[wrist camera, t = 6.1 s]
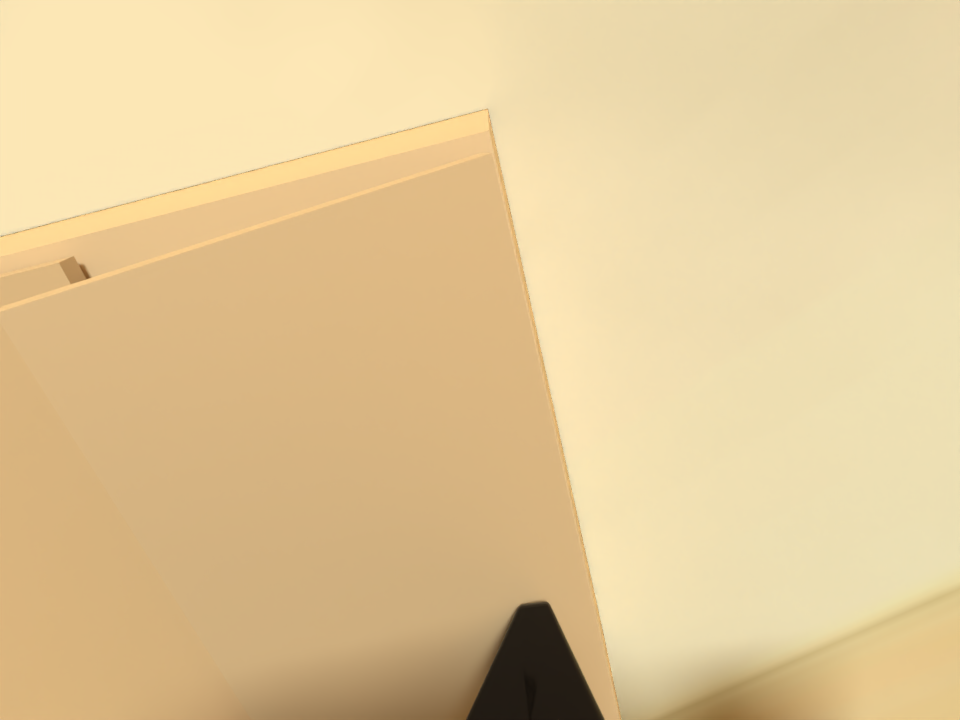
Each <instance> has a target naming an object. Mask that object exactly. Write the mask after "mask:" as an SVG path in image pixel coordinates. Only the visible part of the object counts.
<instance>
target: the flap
mask: <svg viewBox="0 0 960 720" xmlns="http://www.w3.org/2000/svg"><path fill="white" fill-rule="evenodd" d="M0 324H1V325H2V327H3V328H4V330H5V332H6V333H7V335H8V336H9V338H10V340H11V341H12V343H13V344H14V346H15V347H16V349H17V351H18V352H19V354H20V355H21V357H22V358H23V360H24V362H25V363H26V365H27V366H28V368H29V370H30V371H31V373H32V374H33V376H34V377H35V379H36V381H37V382H38V384H39V385H40V387H41V389H42V390H43V392H44V393H45V395H46V396H47V398H48V400H49V401H50V403H51V404H52V406H53V408H54V409H55V411H56V412H57V414H58V415H59V417H60V419H61V420H62V422H63V423H64V425H65V426H66V428H67V430H68V431H69V433H70V434H71V436H72V438H73V439H74V441H75V442H76V444H77V445H78V447H79V449H80V450H81V452H82V453H83V455H84V457H85V458H86V460H87V461H88V463H89V464H90V466H91V468H92V469H93V471H94V472H95V474H96V475H97V477H98V479H99V480H100V482H101V483H102V485H103V487H104V488H105V490H106V491H107V493H108V494H109V496H110V498H111V499H112V501H113V502H114V504H115V506H116V507H117V509H118V510H119V512H120V513H121V515H122V517H123V518H124V520H125V521H126V523H127V525H128V526H129V528H130V529H131V531H132V532H133V534H134V536H135V537H136V539H137V540H138V542H139V543H140V545H141V547H142V548H143V550H144V551H145V553H146V555H147V556H148V558H149V559H150V561H151V562H152V564H153V566H154V567H155V569H156V570H157V572H158V574H159V575H160V577H161V578H162V580H163V581H164V583H165V585H166V586H167V588H168V589H169V591H170V592H171V594H172V596H173V597H174V599H175V600H176V602H177V604H178V605H179V607H180V608H181V610H182V611H183V613H184V615H185V616H186V618H187V619H188V621H189V623H190V624H191V626H192V627H193V629H194V630H195V632H196V634H197V635H198V637H199V638H200V640H201V642H202V643H203V645H204V646H205V648H206V649H207V651H208V653H209V654H210V656H211V657H212V659H213V660H214V662H215V664H216V665H217V667H218V668H219V670H220V672H221V673H222V675H223V676H224V678H225V679H226V681H227V683H228V684H229V686H230V687H231V689H232V691H233V692H234V694H235V695H236V697H237V698H238V700H239V702H240V703H241V705H242V706H243V708H244V709H245V711H246V713H247V714H248V716H249V717H250V719H251V720H466V718H467V716H468V714H469V712H470V710H471V707H472V705H473V703H474V701H475V699H476V697H477V694H478V692H479V690H480V688H481V686H482V684H483V681H484V679H485V677H486V675H487V673H488V671H489V669H490V666H491V664H492V662H493V660H494V658H495V656H496V653H497V651H498V649H499V647H500V645H501V643H502V640H503V638H504V636H505V634H506V632H507V630H508V628H509V625H510V623H511V621H512V619H513V617H514V615H515V612H516V610H517V608H518V607H519V606H520V605H521V604H526V603H535V602H543V601H546V602H548V603H549V604H550V605H551V607H552V609H553V611H554V614H555V616H556V618H557V620H558V622H559V624H560V626H561V628H562V630H563V632H564V635H565V637H566V639H567V641H568V643H569V645H570V647H571V649H572V651H573V653H574V656H575V658H576V660H577V662H578V664H579V666H580V668H581V670H582V672H583V675H584V677H585V679H586V681H587V683H588V685H589V687H590V689H591V691H592V693H593V696H594V698H595V700H596V702H597V704H598V706H599V708H600V710H601V712H602V714H603V717H604V719H605V720H619V718H618V714H617V709H616V705H615V700H614V696H613V691H612V687H611V682H610V678H609V673H608V669H607V664H606V660H605V656H604V651H603V647H602V642H601V638H600V633H599V629H598V624H597V620H596V615H595V611H594V606H593V602H592V598H591V593H590V589H589V584H588V580H587V575H586V571H585V566H584V562H583V557H582V553H581V548H580V544H579V540H578V535H577V531H576V526H575V522H574V517H573V513H572V508H571V504H570V499H569V495H568V490H567V486H566V482H565V477H564V473H563V468H562V464H561V459H560V455H559V450H558V446H557V441H556V437H555V432H554V428H553V424H552V419H551V415H550V410H549V406H548V401H547V397H546V392H545V388H544V383H543V379H542V374H541V370H540V366H539V361H538V357H537V352H536V348H535V343H534V339H533V334H532V330H531V325H530V321H529V316H528V312H527V308H526V303H525V299H524V294H523V290H522V285H521V281H520V276H519V272H518V267H517V263H516V259H515V254H514V250H513V245H512V241H511V236H510V232H509V227H508V223H507V218H506V214H505V209H504V205H503V201H502V196H501V192H500V187H499V183H498V178H497V174H496V169H495V165H494V160H493V156H492V153H479V154H476V155H473V156H470V157H467V158H463V159H460V160H457V161H454V162H451V163H448V164H445V165H442V166H438V167H435V168H432V169H429V170H426V171H423V172H420V173H417V174H414V175H410V176H407V177H404V178H401V179H398V180H395V181H392V182H389V183H385V184H382V185H379V186H376V187H373V188H370V189H367V190H364V191H361V192H357V193H354V194H351V195H348V196H345V197H342V198H339V199H336V200H332V201H329V202H326V203H323V204H320V205H317V206H314V207H311V208H307V209H304V210H301V211H298V212H295V213H292V214H289V215H286V216H283V217H279V218H276V219H273V220H270V221H267V222H264V223H261V224H258V225H254V226H251V227H248V228H245V229H242V230H239V231H236V232H233V233H230V234H226V235H223V236H220V237H217V238H214V239H211V240H208V241H205V242H201V243H198V244H195V245H192V246H189V247H186V248H183V249H180V250H177V251H173V252H170V253H167V254H164V255H161V256H158V257H155V258H152V259H148V260H145V261H142V262H139V263H136V264H133V265H130V266H127V267H124V268H120V269H117V270H114V271H111V272H108V273H105V274H102V275H99V276H95V277H92V278H89V279H86V280H83V281H80V282H77V283H74V284H71V285H67V286H64V287H61V288H58V289H55V290H52V291H49V292H46V293H42V294H39V295H36V296H33V297H30V298H27V299H24V300H21V301H17V302H14V303H11V304H8V305H5V306H2V307H1V308H0Z"/></svg>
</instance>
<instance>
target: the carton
mask: <svg viewBox="0 0 960 720" xmlns="http://www.w3.org/2000/svg"><path fill="white" fill-rule="evenodd" d="M479 153H492V156H493V160H494V165H495V169H496V174H497V178H498V183H499V187H500V192H501V196H502V201H503V205H504V209H505V214H506V218H507V223H508V227H509V232H510V236H511V241H512V245H513V250H514V254H515V259H516V263H517V267H518V272H519V276H520V281H521V285H522V290H523V294H524V299H525V303H526V308H527V312H528V316H529V321H530V325H531V330H532V334H533V339H534V343H535V348H536V352H537V357H538V361H539V366H540V370H541V374H542V379H543V383H544V388H545V392H546V397H547V401H548V406H549V410H550V415H551V419H552V424H553V428H554V432H555V437H556V441H557V446H558V450H559V455H560V459H561V464H562V468H563V473H564V477H565V482H566V486H567V490H568V495H569V499H570V504H571V508H572V513H573V517H574V522H575V526H576V531H577V535H578V540H579V544H580V548H581V553H582V557H583V562H584V566H585V571H586V575H587V580H588V584H589V589H590V593H591V598H592V602H593V606H594V611H595V615H596V620H597V624H598V629H599V633H600V638H601V642H602V647H603V651H604V656H605V660H606V664H607V669H608V673H609V678H610V682H611V687H612V691H613V696H614V700H615V705H616V709H617V714H618V718H619V720H621V715H620V711H619V706H618V701H617V696H616V692H615V687H614V682H613V677H612V672H611V668H610V663H609V658H608V653H607V649H606V644H605V639H604V634H603V630H602V625H601V621H600V616H599V612H598V607H597V603H596V598H595V593H594V589H593V584H592V580H591V575H590V571H589V566H588V562H587V557H586V553H585V548H584V544H583V539H582V534H581V530H580V525H579V521H578V516H577V512H576V507H575V503H574V498H573V494H572V489H571V485H570V480H569V475H568V471H567V466H566V462H565V457H564V453H563V448H562V444H561V439H560V435H559V430H558V426H557V421H556V416H555V412H554V407H553V403H552V398H551V394H550V389H549V385H548V380H547V376H546V371H545V367H544V362H543V357H542V353H541V348H540V344H539V339H538V335H537V330H536V326H535V321H534V317H533V312H532V308H531V303H530V298H529V294H528V289H527V285H526V280H525V276H524V271H523V267H522V262H521V258H520V253H519V249H518V244H517V240H516V235H515V230H514V226H513V221H512V217H511V212H510V208H509V203H508V199H507V194H506V190H505V185H504V181H503V176H502V171H501V167H500V162H499V158H498V153H497V149H496V144H495V140H494V135H493V131H492V126H491V122H490V117H489V112H488V109H485V110H481V111H477V112H473V113H470V114H466V115H462V116H458V117H454V118H451V119H447V120H443V121H439V122H435V123H432V124H428V125H424V126H420V127H416V128H413V129H409V130H405V131H401V132H397V133H394V134H390V135H386V136H382V137H378V138H374V139H371V140H367V141H363V142H359V143H355V144H352V145H348V146H344V147H340V148H336V149H333V150H329V151H325V152H321V153H317V154H314V155H310V156H306V157H302V158H298V159H295V160H291V161H287V162H283V163H279V164H275V165H272V166H268V167H264V168H260V169H256V170H253V171H249V172H245V173H241V174H237V175H234V176H230V177H226V178H222V179H218V180H215V181H211V182H207V183H203V184H199V185H196V186H192V187H188V188H184V189H180V190H177V191H173V192H169V193H165V194H161V195H157V196H154V197H150V198H146V199H142V200H138V201H135V202H131V203H127V204H123V205H119V206H116V207H112V208H108V209H104V210H100V211H97V212H93V213H89V214H85V215H81V216H78V217H74V218H70V219H66V220H62V221H59V222H55V223H51V224H47V225H43V226H39V227H36V228H32V229H28V230H24V231H20V232H17V233H13V234H9V235H5V236H1V237H0V308H1V307H2V306H5V305H8V304H11V303H14V302H17V301H21V300H24V299H27V298H30V297H33V296H36V295H39V294H42V293H46V292H49V291H52V290H55V289H58V288H61V287H64V286H67V285H71V284H74V283H77V282H80V281H83V280H86V279H89V278H92V277H95V276H99V275H102V274H105V273H108V272H111V271H114V270H117V269H120V268H124V267H127V266H130V265H133V264H136V263H139V262H142V261H145V260H148V259H152V258H155V257H158V256H161V255H164V254H167V253H170V252H173V251H177V250H180V249H183V248H186V247H189V246H192V245H195V244H198V243H201V242H205V241H208V240H211V239H214V238H217V237H220V236H223V235H226V234H230V233H233V232H236V231H239V230H242V229H245V228H248V227H251V226H254V225H258V224H261V223H264V222H267V221H270V220H273V219H276V218H279V217H283V216H286V215H289V214H292V213H295V212H298V211H301V210H304V209H307V208H311V207H314V206H317V205H320V204H323V203H326V202H329V201H332V200H336V199H339V198H342V197H345V196H348V195H351V194H354V193H357V192H361V191H364V190H367V189H370V188H373V187H376V186H379V185H382V184H385V183H389V182H392V181H395V180H398V179H401V178H404V177H407V176H410V175H414V174H417V173H420V172H423V171H426V170H429V169H432V168H435V167H438V166H442V165H445V164H448V163H451V162H454V161H457V160H460V159H463V158H467V157H470V156H473V155H476V154H479ZM0 720H251V719H250V717H249V716H248V714H247V713H246V711H245V709H244V708H243V706H242V705H241V703H240V702H239V700H238V698H237V697H236V695H235V694H234V692H233V691H232V689H231V687H230V686H229V684H228V683H227V681H226V679H225V678H224V676H223V675H222V673H221V672H220V670H219V668H218V667H217V665H216V664H215V662H214V660H213V659H212V657H211V656H210V654H209V653H208V651H207V649H206V648H205V646H204V645H203V643H202V642H201V640H200V638H199V637H198V635H197V634H196V632H195V630H194V629H193V627H192V626H191V624H190V623H189V621H188V619H187V618H186V616H185V615H184V613H183V611H182V610H181V608H180V607H179V605H178V604H177V602H176V600H175V599H174V597H173V596H172V594H171V592H170V591H169V589H168V588H167V586H166V585H165V583H164V581H163V580H162V578H161V577H160V575H159V574H158V572H157V570H156V569H155V567H154V566H153V564H152V562H151V561H150V559H149V558H148V556H147V555H146V553H145V551H144V550H143V548H142V547H141V545H140V543H139V542H138V540H137V539H136V537H135V536H134V534H133V532H132V531H131V529H130V528H129V526H128V525H127V523H126V521H125V520H124V518H123V517H122V515H121V513H120V512H119V510H118V509H117V507H116V506H115V504H114V502H113V501H112V499H111V498H110V496H109V494H108V493H107V491H106V490H105V488H104V487H103V485H102V483H101V482H100V480H99V479H98V477H97V475H96V474H95V472H94V471H93V469H92V468H91V466H90V464H89V463H88V461H87V460H86V458H85V457H84V455H83V453H82V452H81V450H80V449H79V447H78V445H77V444H76V442H75V441H74V439H73V438H72V436H71V434H70V433H69V431H68V430H67V428H66V426H65V425H64V423H63V422H62V420H61V419H60V417H59V415H58V414H57V412H56V411H55V409H54V408H53V406H52V404H51V403H50V401H49V400H48V398H47V396H46V395H45V393H44V392H43V390H42V389H41V387H40V385H39V384H38V382H37V381H36V379H35V377H34V376H33V374H32V373H31V371H30V370H29V368H28V366H27V365H26V363H25V362H24V360H23V358H22V357H21V355H20V354H19V352H18V351H17V349H16V347H15V346H14V344H13V343H12V341H11V340H10V338H9V336H8V335H7V333H6V332H5V330H4V328H3V327H2V325H1V324H0Z"/></svg>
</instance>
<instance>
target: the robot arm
mask: <svg viewBox="0 0 960 720" xmlns="http://www.w3.org/2000/svg"><path fill="white" fill-rule="evenodd" d="M466 720H605V719H604V717H603V714H602V712H601V710H600V708H599V706H598V704H597V702H596V700H595V698H594V696H593V693H592V691H591V689H590V687H589V685H588V683H587V681H586V679H585V677H584V675H583V672H582V670H581V668H580V666H579V664H578V662H577V660H576V658H575V656H574V653H573V651H572V649H571V647H570V645H569V643H568V641H567V639H566V637H565V635H564V632H563V630H562V628H561V626H560V624H559V622H558V620H557V618H556V616H555V614H554V611H553V609H552V607H551V605H550V604H549V603H548V602H546V601H543V602H535V603H526V604H521V605H520V606H519V607H518V608H517V610H516V612H515V615H514V617H513V619H512V621H511V623H510V625H509V628H508V630H507V632H506V634H505V636H504V638H503V640H502V643H501V645H500V647H499V649H498V651H497V653H496V656H495V658H494V660H493V662H492V664H491V666H490V669H489V671H488V673H487V675H486V677H485V679H484V681H483V684H482V686H481V688H480V690H479V692H478V694H477V697H476V699H475V701H474V703H473V705H472V707H471V710H470V712H469V714H468V716H467V718H466Z"/></svg>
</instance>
